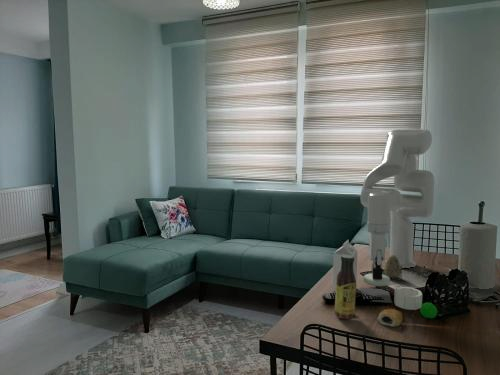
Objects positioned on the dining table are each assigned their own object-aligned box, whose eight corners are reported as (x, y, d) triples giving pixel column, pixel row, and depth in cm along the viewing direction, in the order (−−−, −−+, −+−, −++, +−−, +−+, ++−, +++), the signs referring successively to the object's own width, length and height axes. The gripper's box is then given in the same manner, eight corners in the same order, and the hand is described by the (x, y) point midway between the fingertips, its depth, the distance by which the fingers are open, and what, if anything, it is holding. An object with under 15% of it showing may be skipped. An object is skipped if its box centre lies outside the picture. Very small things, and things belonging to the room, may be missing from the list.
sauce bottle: (343, 322, 127) (345, 260, 124) (330, 314, 133) (332, 255, 130) (359, 317, 130) (361, 257, 127) (346, 309, 136) (348, 252, 133)
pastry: (386, 312, 134) (387, 301, 133) (407, 318, 130) (408, 307, 129) (375, 323, 127) (376, 311, 126) (397, 330, 122) (398, 318, 122)
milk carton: (332, 293, 150) (333, 242, 147) (337, 286, 156) (339, 238, 153) (351, 296, 147) (353, 245, 144) (356, 289, 153) (358, 240, 150)
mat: (360, 289, 153) (360, 287, 153) (388, 291, 151) (388, 289, 151) (361, 302, 142) (362, 300, 142) (392, 304, 140) (392, 302, 140)
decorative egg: (385, 275, 167) (386, 252, 166) (400, 278, 164) (402, 254, 163) (383, 280, 162) (384, 256, 161) (398, 283, 159) (400, 258, 158)
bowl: (393, 299, 143) (393, 286, 143) (418, 301, 142) (419, 288, 141) (396, 310, 135) (396, 295, 135) (423, 312, 134) (423, 297, 133)
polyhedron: (420, 320, 128) (421, 305, 128) (419, 313, 133) (419, 299, 132) (437, 322, 127) (438, 307, 126) (435, 315, 131) (436, 301, 131)
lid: (363, 275, 152) (363, 257, 151) (388, 277, 150) (389, 258, 149) (364, 285, 143) (365, 266, 142) (391, 287, 141) (392, 267, 140)
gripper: (365, 221, 152) (364, 267, 155) (368, 233, 136) (367, 285, 139) (386, 221, 150) (385, 268, 153) (392, 234, 134) (390, 286, 138)
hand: (376, 276), depth 146 cm, fingers closed on lid, 3 cm apart
